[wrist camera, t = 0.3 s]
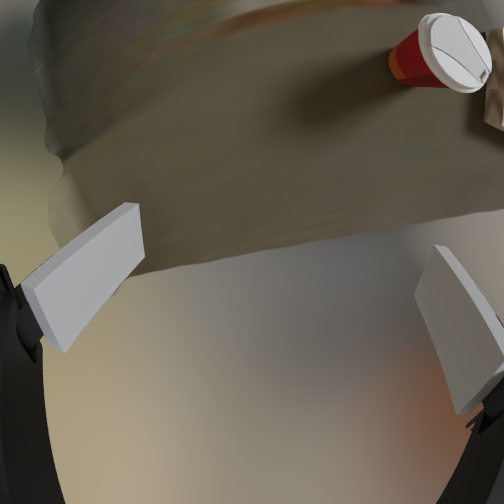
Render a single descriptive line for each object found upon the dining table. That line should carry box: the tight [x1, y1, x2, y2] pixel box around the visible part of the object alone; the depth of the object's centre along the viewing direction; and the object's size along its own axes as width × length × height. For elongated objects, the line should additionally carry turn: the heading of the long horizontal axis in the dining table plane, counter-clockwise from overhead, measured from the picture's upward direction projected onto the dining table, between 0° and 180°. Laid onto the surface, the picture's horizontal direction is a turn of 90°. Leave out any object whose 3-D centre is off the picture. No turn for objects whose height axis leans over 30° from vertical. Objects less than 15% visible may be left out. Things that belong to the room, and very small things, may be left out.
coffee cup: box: [388, 13, 492, 93], centre depth 20 cm, size 8×8×15 cm
